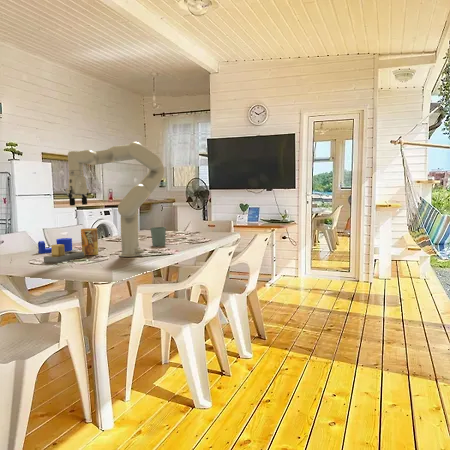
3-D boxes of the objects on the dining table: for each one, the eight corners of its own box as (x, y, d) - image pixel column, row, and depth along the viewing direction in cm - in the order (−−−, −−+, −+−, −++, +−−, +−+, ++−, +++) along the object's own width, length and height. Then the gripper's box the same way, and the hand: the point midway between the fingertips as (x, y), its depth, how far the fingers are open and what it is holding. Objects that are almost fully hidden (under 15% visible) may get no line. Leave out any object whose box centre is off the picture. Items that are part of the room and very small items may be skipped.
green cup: (164, 246, 266) (164, 228, 265) (149, 246, 266) (149, 228, 265) (167, 244, 276) (166, 226, 275) (152, 244, 276) (152, 227, 275)
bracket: (69, 249, 261) (68, 237, 260) (74, 250, 254) (74, 238, 254) (37, 253, 248) (36, 240, 247) (42, 254, 241) (41, 241, 240)
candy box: (98, 253, 238) (97, 227, 237) (98, 254, 234) (96, 228, 233) (82, 254, 236) (81, 228, 235) (82, 255, 232) (80, 229, 231)
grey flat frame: (71, 256, 230) (71, 251, 230) (84, 257, 227) (83, 251, 227) (43, 262, 212) (43, 256, 211) (57, 263, 208) (56, 257, 208)
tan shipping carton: (65, 259, 216) (64, 244, 216) (59, 260, 212) (58, 245, 211) (58, 258, 218) (57, 244, 218) (51, 260, 214) (50, 245, 213)
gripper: (70, 173, 213) (73, 205, 215) (92, 174, 229) (94, 204, 231) (59, 174, 216) (62, 206, 217) (81, 174, 232) (83, 204, 233)
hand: (78, 205), depth 224 cm, fingers open, 9 cm apart
